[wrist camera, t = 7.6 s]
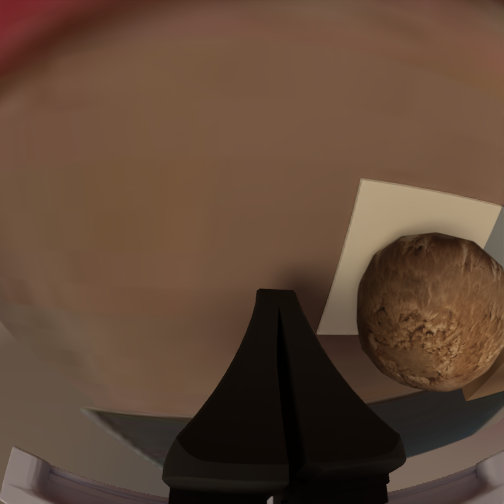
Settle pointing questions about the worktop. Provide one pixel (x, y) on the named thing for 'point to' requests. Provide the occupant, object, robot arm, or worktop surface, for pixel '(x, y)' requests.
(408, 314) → the mushroom
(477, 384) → the plinth
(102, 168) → the worktop surface
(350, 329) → the board
